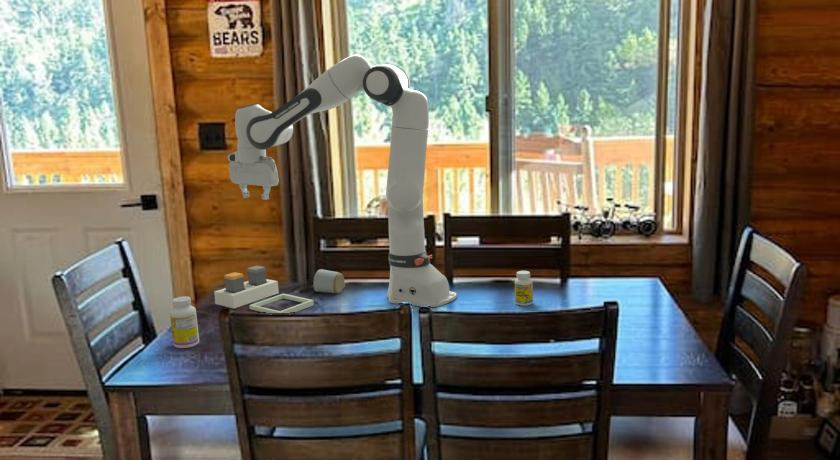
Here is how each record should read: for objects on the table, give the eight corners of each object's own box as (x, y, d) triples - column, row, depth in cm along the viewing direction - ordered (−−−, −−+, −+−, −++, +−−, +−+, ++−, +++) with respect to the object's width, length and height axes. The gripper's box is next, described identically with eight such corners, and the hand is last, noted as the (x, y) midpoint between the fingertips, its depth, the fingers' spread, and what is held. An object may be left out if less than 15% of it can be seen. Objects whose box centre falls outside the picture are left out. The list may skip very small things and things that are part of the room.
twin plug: (267, 294, 233) (265, 267, 232) (257, 297, 230) (255, 270, 228) (259, 292, 236) (257, 265, 234) (249, 295, 233) (247, 268, 231)
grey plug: (245, 301, 226) (242, 273, 224) (235, 304, 223) (232, 276, 221) (237, 299, 229) (234, 272, 227) (227, 302, 226) (224, 275, 224)
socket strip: (279, 296, 234) (277, 281, 233) (234, 311, 220) (232, 295, 219) (260, 292, 239) (259, 277, 238) (215, 306, 226) (214, 291, 224)
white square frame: (314, 306, 221) (313, 300, 221) (280, 319, 211) (279, 312, 210) (283, 300, 230) (283, 293, 229) (250, 312, 219) (249, 305, 219)
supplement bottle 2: (534, 301, 218) (533, 270, 216) (531, 306, 213) (531, 275, 211) (516, 300, 220) (516, 269, 218) (513, 305, 215) (512, 274, 213)
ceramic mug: (335, 297, 230) (334, 273, 229) (313, 295, 233) (312, 272, 232) (351, 288, 240) (349, 266, 238) (329, 286, 243) (328, 264, 241)
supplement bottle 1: (177, 341, 197) (171, 295, 194) (201, 339, 197) (197, 294, 195) (171, 350, 190) (165, 303, 188) (196, 348, 191) (191, 301, 188)
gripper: (281, 155, 228) (284, 199, 231) (239, 153, 240) (243, 194, 243) (266, 158, 223) (269, 202, 226) (224, 155, 235) (228, 197, 238)
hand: (255, 198), depth 235 cm, fingers open, 8 cm apart
